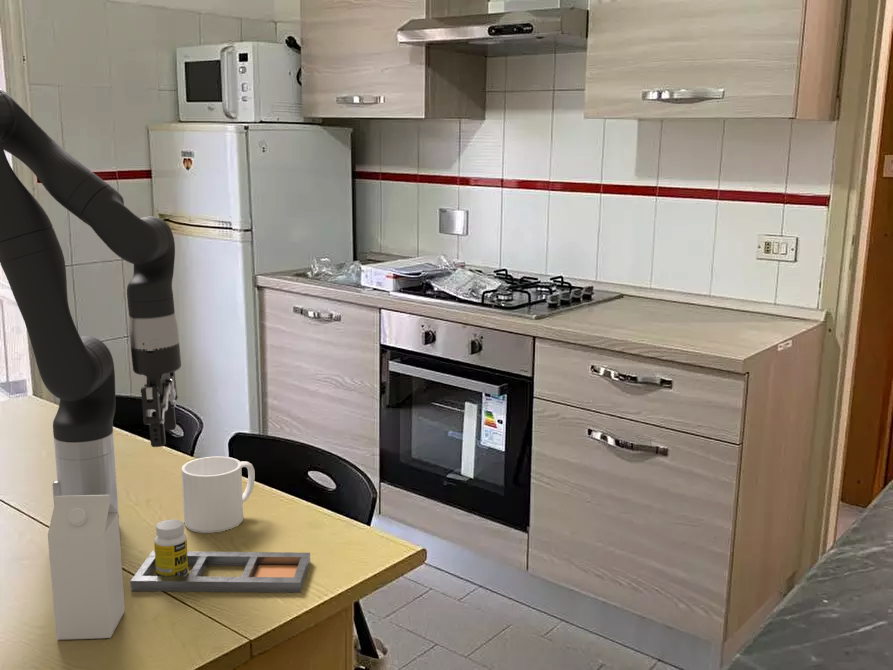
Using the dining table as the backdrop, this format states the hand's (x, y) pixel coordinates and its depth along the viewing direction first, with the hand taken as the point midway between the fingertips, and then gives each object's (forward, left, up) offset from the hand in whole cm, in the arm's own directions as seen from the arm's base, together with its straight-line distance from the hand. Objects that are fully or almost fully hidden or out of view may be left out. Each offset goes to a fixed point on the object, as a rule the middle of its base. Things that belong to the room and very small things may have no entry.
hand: (164, 437), depth 149 cm
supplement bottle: (+5, -15, -17) cm, 23 cm away
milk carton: (-2, -30, -17) cm, 34 cm away
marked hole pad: (+21, -15, -17) cm, 31 cm away
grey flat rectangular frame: (+13, -15, -17) cm, 26 cm away
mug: (+7, +6, -17) cm, 20 cm away
